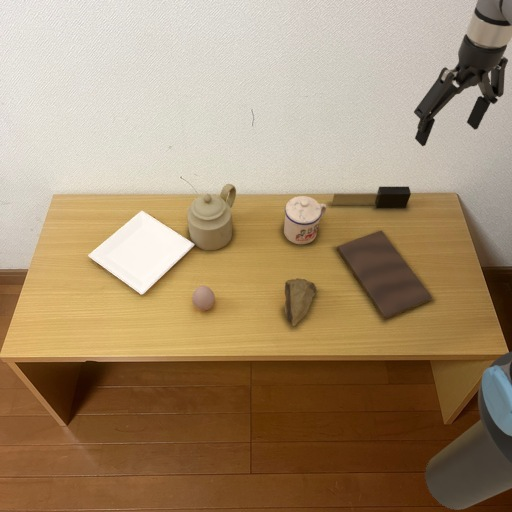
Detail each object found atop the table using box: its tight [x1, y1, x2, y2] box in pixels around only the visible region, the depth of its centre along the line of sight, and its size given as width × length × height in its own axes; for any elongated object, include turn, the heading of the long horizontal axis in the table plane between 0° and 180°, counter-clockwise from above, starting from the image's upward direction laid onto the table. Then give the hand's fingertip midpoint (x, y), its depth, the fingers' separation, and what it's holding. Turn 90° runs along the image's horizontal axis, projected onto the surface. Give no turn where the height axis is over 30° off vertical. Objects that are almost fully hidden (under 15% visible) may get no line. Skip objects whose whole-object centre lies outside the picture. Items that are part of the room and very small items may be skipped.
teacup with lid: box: [283, 195, 327, 245], centre depth 121 cm, size 12×9×12 cm
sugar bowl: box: [186, 183, 237, 251], centre depth 119 cm, size 15×11×15 cm
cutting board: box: [336, 230, 433, 321], centre depth 117 cm, size 22×13×2 cm, turn 24°
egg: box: [191, 285, 216, 311], centre depth 109 cm, size 5×5×7 cm
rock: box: [284, 277, 318, 327], centre depth 109 cm, size 11×9×10 cm
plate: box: [87, 210, 195, 295], centre depth 119 cm, size 19×19×2 cm
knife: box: [331, 186, 412, 209], centre depth 129 cm, size 20×3×6 cm, turn 91°
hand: (446, 133), depth 102 cm, fingers open, 13 cm apart
